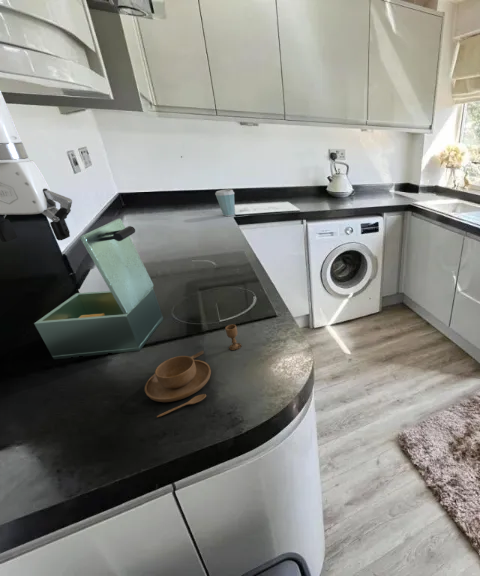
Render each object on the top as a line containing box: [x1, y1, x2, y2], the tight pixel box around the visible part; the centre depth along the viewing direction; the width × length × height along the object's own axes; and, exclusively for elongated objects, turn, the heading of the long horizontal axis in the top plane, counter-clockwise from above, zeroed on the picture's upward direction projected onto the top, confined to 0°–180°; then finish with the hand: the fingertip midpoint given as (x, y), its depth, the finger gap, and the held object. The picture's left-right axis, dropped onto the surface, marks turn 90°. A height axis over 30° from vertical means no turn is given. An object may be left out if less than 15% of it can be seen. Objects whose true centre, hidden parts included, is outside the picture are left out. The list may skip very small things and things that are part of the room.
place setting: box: [144, 323, 242, 418], centre depth 69 cm, size 18×20×6 cm
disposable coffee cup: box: [214, 188, 236, 217], centre depth 197 cm, size 11×11×15 cm
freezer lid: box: [79, 218, 155, 314], centre depth 76 cm, size 19×15×5 cm
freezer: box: [33, 287, 164, 360], centre depth 81 cm, size 18×15×10 cm
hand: (37, 239), depth 69 cm, fingers open, 9 cm apart
